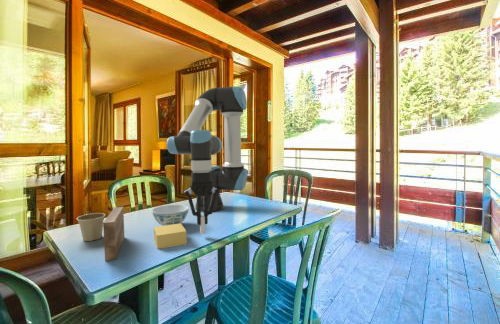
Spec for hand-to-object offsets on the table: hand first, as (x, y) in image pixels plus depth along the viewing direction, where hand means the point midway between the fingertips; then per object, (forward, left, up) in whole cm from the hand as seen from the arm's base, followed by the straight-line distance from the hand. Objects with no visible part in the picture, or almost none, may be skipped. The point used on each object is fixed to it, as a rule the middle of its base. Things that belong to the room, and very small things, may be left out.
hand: (202, 232), depth 100 cm
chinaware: (+11, -18, -2) cm, 21 cm away
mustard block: (+12, 0, -2) cm, 12 cm away
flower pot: (+40, -13, -2) cm, 42 cm away
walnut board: (+30, 0, -2) cm, 30 cm away
